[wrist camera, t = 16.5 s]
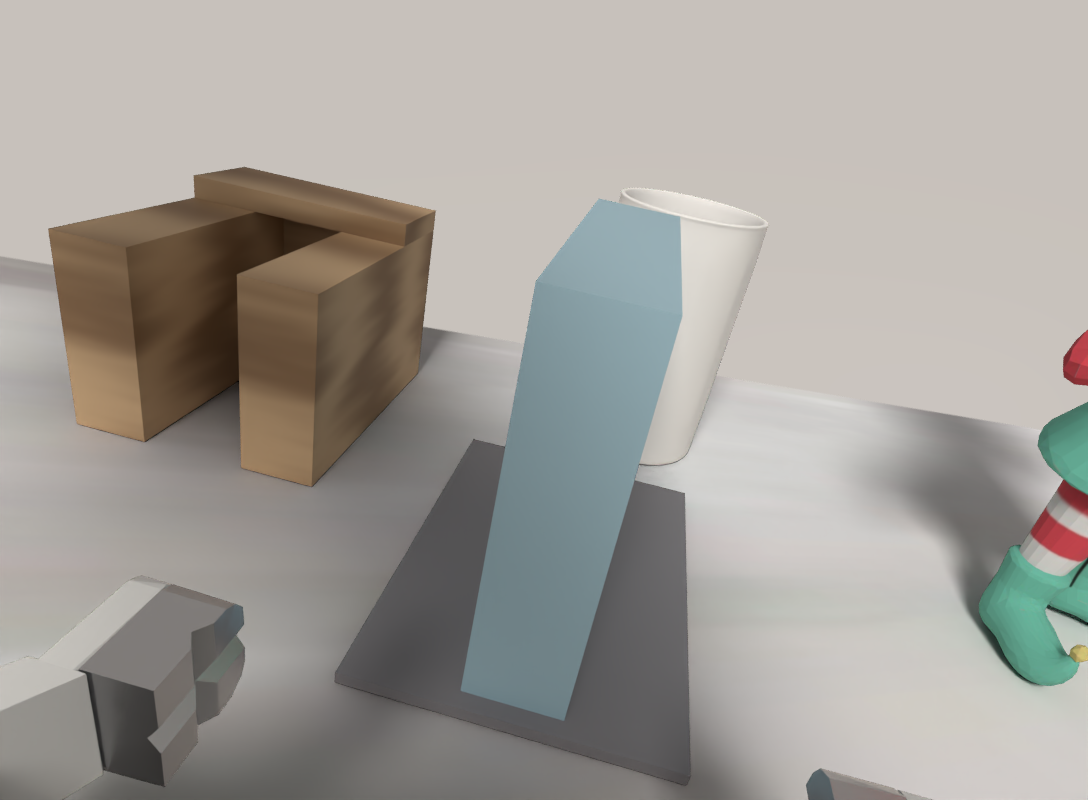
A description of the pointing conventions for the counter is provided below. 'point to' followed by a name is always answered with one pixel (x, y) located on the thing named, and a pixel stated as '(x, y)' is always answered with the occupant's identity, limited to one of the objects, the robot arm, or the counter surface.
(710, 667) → the counter surface
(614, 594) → the mat
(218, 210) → the slot box
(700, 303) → the mug
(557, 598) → the blue rectangular block
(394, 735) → the counter surface
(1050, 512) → the toy
